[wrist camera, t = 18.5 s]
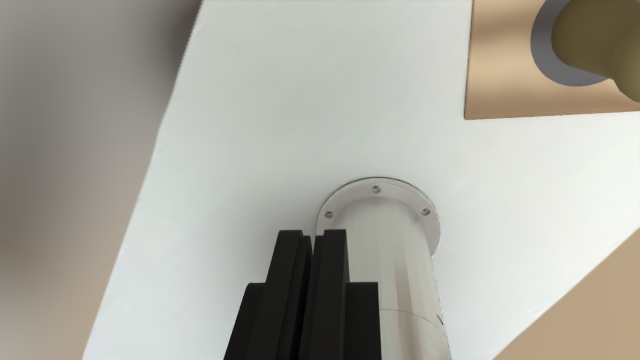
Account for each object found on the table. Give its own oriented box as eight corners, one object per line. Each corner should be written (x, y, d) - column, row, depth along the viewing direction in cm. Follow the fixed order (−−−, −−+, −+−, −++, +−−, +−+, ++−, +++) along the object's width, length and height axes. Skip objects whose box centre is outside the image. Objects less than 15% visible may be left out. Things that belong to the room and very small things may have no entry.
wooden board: (683, 106, 37) (688, 108, 37) (464, 117, 39) (465, 120, 39) (748, -87, 30) (756, -87, 30) (478, -61, 32) (480, -61, 32)
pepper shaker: (624, -30, 32) (735, -11, 22) (643, 43, 34) (752, 88, 25) (539, 15, 34) (610, 50, 24) (564, 81, 36) (636, 137, 27)
